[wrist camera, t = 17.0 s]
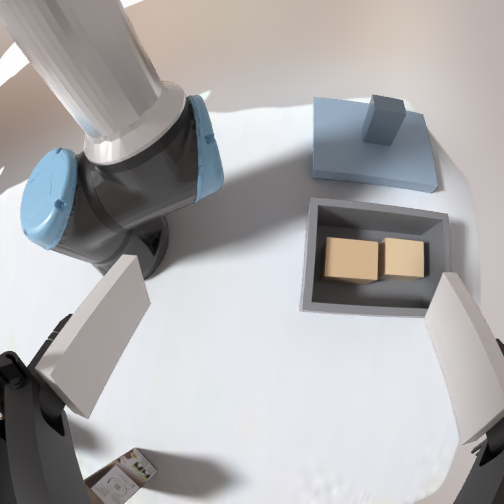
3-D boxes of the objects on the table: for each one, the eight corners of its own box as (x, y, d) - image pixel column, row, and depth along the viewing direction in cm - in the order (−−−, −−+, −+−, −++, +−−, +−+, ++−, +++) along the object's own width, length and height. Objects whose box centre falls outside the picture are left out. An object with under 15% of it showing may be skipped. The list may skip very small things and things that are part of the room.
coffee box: (135, 445, 39) (83, 480, 23) (159, 471, 37) (114, 514, 22) (110, 462, 38) (60, 493, 23) (132, 486, 37) (88, 523, 21)
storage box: (299, 311, 41) (302, 309, 32) (306, 220, 44) (310, 197, 35) (421, 317, 38) (449, 316, 29) (422, 232, 41) (447, 214, 32)
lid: (312, 177, 45) (317, 136, 34) (313, 106, 49) (315, 62, 37) (431, 193, 42) (462, 161, 31) (418, 122, 46) (438, 84, 34)
